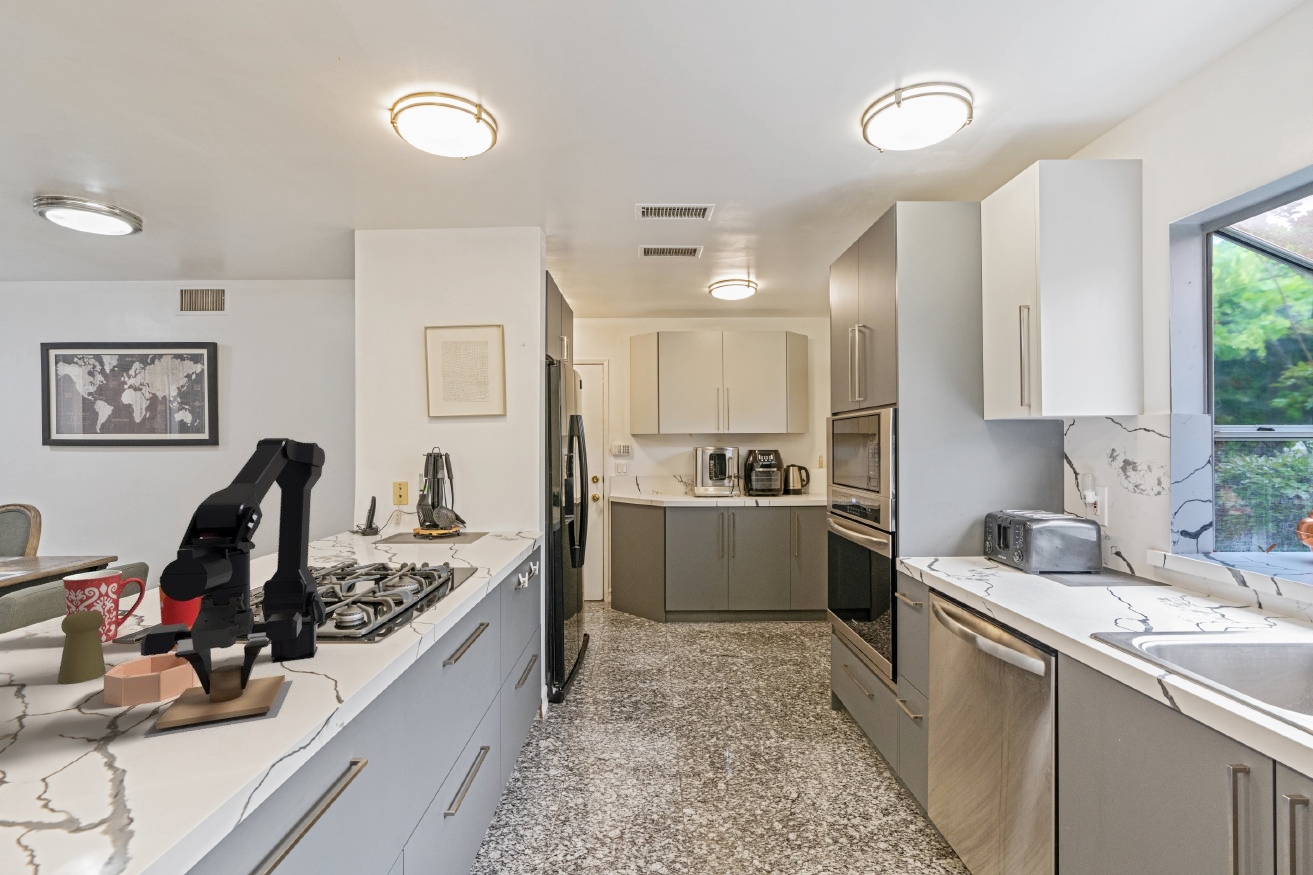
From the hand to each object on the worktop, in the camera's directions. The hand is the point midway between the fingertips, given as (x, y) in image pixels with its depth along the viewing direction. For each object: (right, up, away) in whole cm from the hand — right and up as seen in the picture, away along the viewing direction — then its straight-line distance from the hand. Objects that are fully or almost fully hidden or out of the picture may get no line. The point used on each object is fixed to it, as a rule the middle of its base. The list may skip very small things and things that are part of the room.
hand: (226, 690), depth 89 cm
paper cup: (-31, -4, +30) cm, 43 cm away
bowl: (-16, -3, +6) cm, 17 cm away
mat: (0, -3, 0) cm, 3 cm away
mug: (-50, -4, +35) cm, 61 cm away
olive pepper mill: (-34, -4, +14) cm, 37 cm away
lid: (0, -2, 0) cm, 2 cm away
